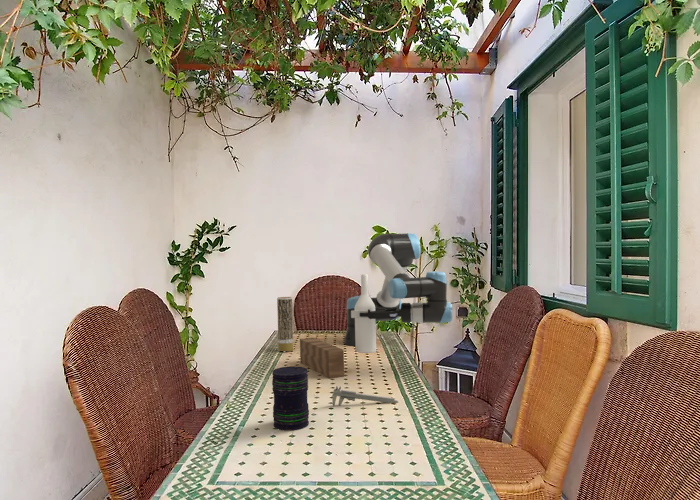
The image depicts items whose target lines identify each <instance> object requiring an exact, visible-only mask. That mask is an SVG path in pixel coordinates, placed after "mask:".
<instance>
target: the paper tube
mask: <svg viewBox="0 0 700 500" xmlns="http://www.w3.org/2000/svg"><path fill="white" fill-rule="evenodd" d="M292 297H293V296H280V297H279V296H278V297H277V299H276V300H277V303H276V304H277V307H276V308H277V309H276V310H277V333H278V334H277V338H278V339H277V340H278V341H277V343H278V352H280V351H290V352H292V351H293V350H294V332H293V331H294V329H293V328H294V327H293V326H294V325H293V323H294V322H293V298H292Z"/></svg>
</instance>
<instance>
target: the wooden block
mask: <svg viewBox="0 0 700 500" xmlns="http://www.w3.org/2000/svg"><path fill="white" fill-rule="evenodd" d="M299 348H300V349H299V355H300V356H299V361H300V364H303V365H304V366H306V367H308V368H310V369H311V370H313V371H315V372H317V373H318V374H320V375H322V376H324V377H326V378H327V379H329V380H330V379H336V378H341V377H342V378H343V377H345V359H344V358H345V355H344V354H345V353H344V352H345V350H344V349H343V348H340V347H338V346H335V345H334V344H333V345H332V344H330V343H327V342H325V341H323V340H321V339H317V338H315V337H308V338H307V337H306V338H299Z"/></svg>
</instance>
